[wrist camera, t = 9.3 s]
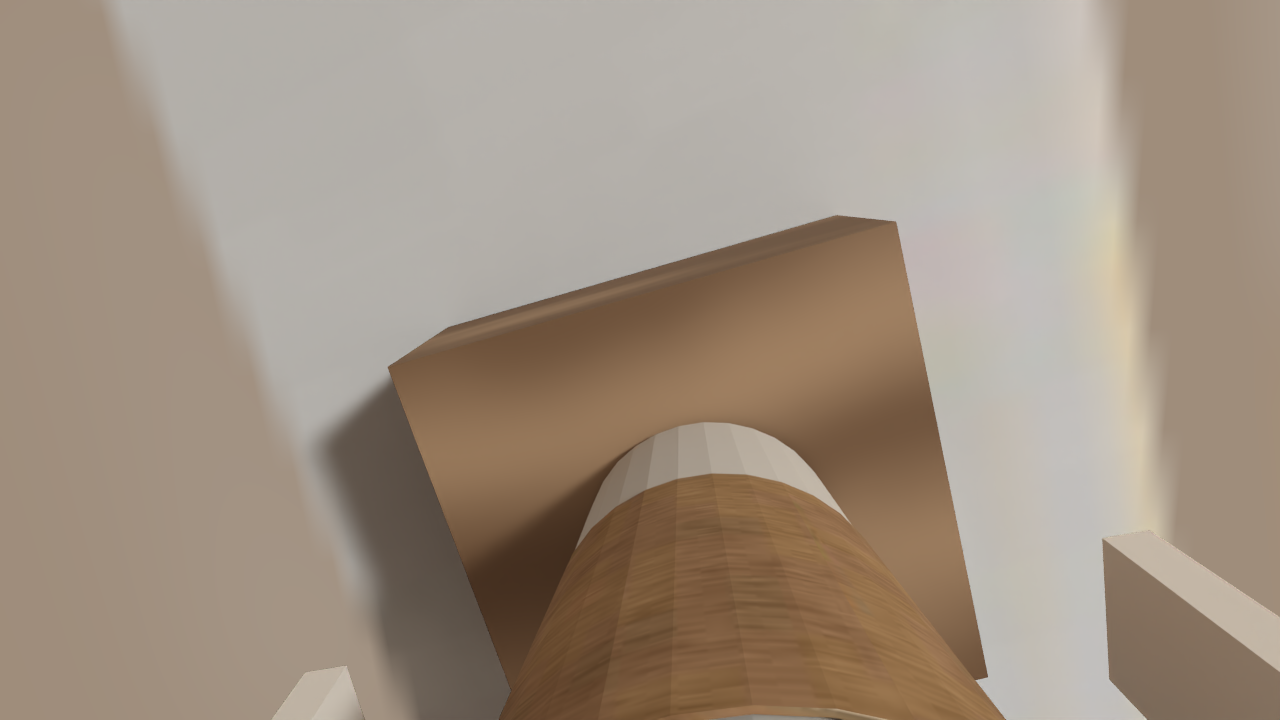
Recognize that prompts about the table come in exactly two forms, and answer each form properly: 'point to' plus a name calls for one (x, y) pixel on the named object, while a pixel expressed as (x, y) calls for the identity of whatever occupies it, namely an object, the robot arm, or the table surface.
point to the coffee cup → (732, 601)
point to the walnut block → (691, 410)
